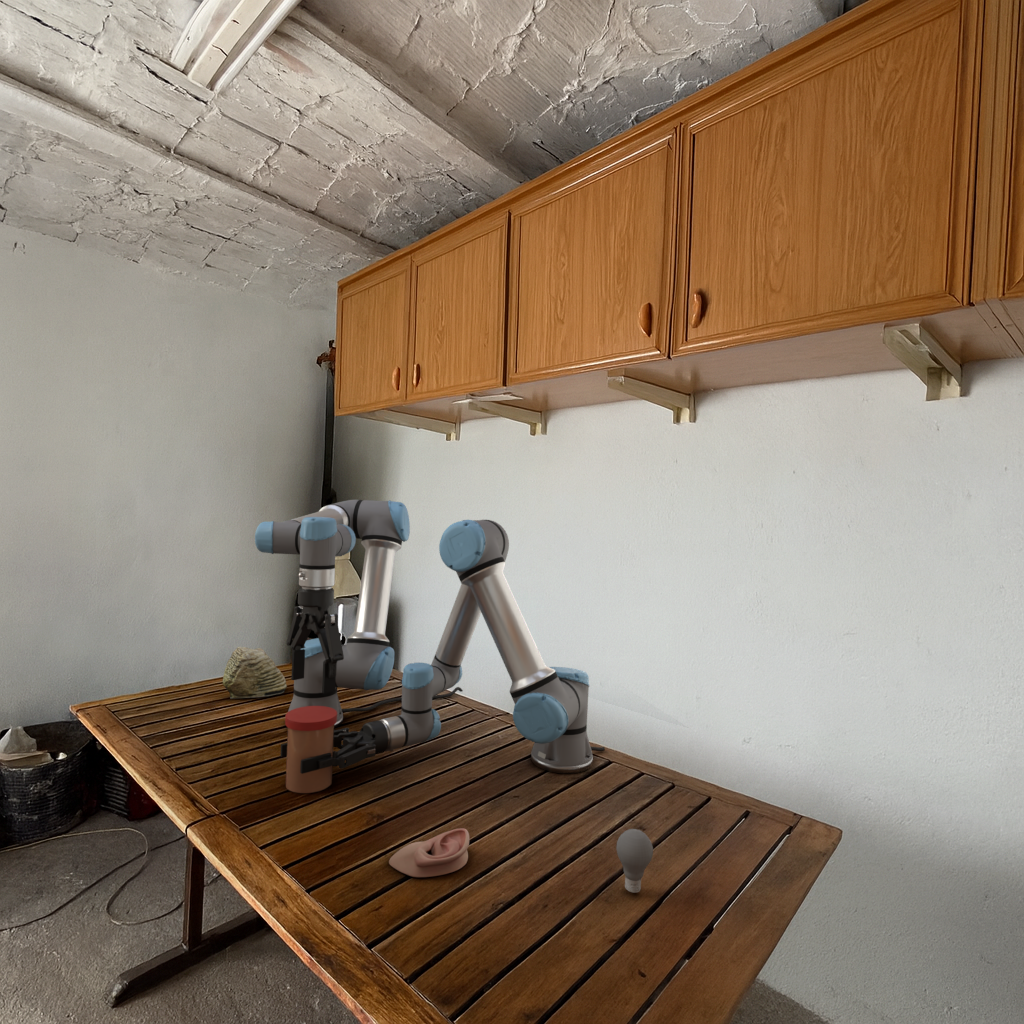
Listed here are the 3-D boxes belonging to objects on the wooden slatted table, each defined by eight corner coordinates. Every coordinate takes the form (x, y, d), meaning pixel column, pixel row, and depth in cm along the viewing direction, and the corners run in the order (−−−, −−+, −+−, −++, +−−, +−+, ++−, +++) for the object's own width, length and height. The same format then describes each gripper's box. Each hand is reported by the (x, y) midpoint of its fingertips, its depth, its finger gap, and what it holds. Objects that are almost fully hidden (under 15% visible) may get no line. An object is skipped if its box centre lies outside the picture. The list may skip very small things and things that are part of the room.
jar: (316, 769, 147) (319, 705, 146) (340, 783, 140) (343, 716, 140) (277, 782, 139) (279, 715, 139) (300, 797, 133) (303, 727, 133)
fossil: (218, 695, 195) (220, 647, 195) (278, 685, 208) (279, 640, 207) (228, 703, 189) (230, 653, 188) (289, 692, 201) (290, 645, 201)
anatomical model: (382, 848, 108) (407, 816, 119) (381, 871, 108) (406, 837, 119) (457, 861, 105) (475, 826, 116) (456, 884, 105) (474, 848, 116)
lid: (319, 710, 147) (319, 702, 147) (346, 722, 140) (347, 714, 140) (275, 721, 139) (276, 713, 139) (302, 734, 132) (302, 726, 132)
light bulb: (610, 879, 108) (613, 822, 108) (644, 879, 109) (647, 822, 109) (619, 902, 102) (622, 840, 102) (655, 901, 103) (658, 840, 103)
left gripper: (273, 581, 144) (269, 676, 145) (332, 595, 128) (328, 702, 129) (302, 579, 150) (299, 670, 150) (363, 593, 134) (359, 694, 134)
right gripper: (406, 767, 144) (313, 795, 129) (358, 737, 160) (270, 758, 145) (408, 734, 143) (314, 758, 128) (359, 707, 160) (271, 726, 145)
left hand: (312, 685), depth 139 cm, fingers open, 12 cm apart
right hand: (291, 758), depth 137 cm, fingers closed on jar, 10 cm apart
